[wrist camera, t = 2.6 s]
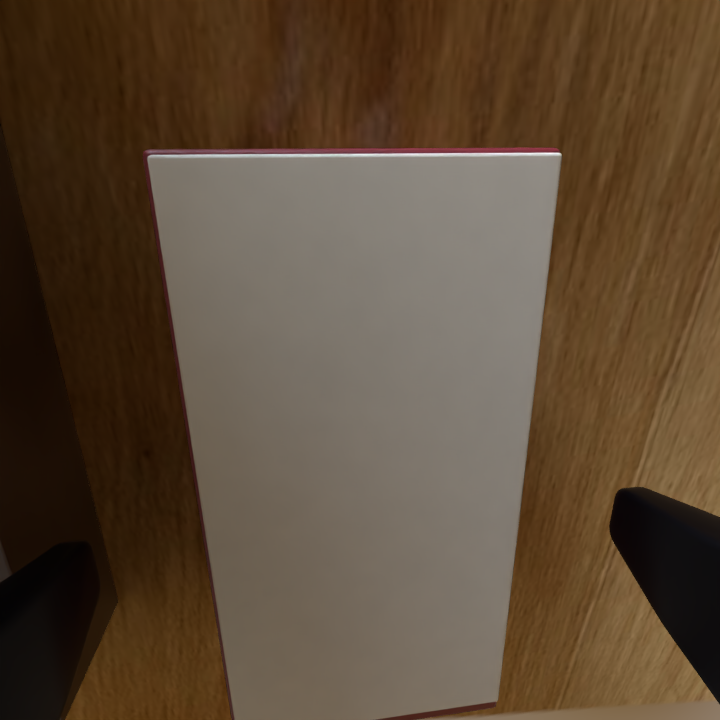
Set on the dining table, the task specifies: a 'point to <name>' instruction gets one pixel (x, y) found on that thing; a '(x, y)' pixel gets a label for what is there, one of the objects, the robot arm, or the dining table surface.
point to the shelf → (39, 429)
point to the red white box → (357, 411)
